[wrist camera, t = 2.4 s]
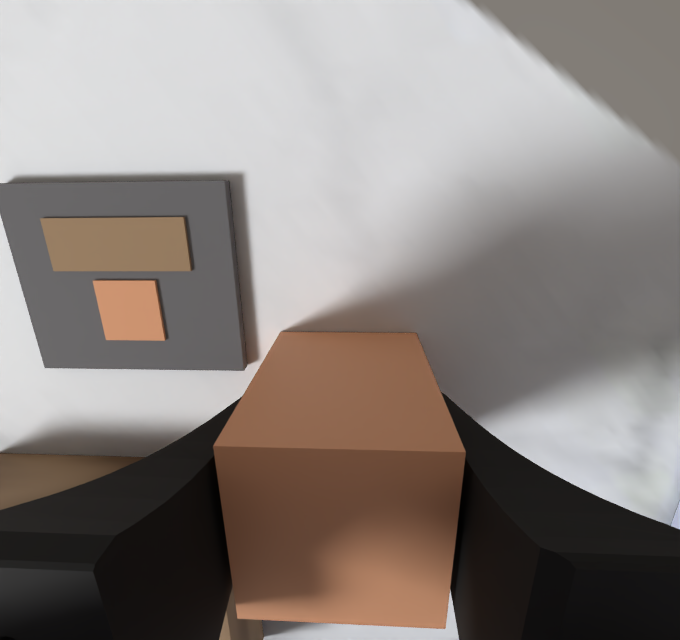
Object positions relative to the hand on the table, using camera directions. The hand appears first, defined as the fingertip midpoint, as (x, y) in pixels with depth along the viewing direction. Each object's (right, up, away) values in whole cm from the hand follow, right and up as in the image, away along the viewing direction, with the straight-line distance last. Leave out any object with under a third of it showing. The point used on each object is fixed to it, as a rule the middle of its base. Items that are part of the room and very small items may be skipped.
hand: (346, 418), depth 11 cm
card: (-7, +4, +1) cm, 8 cm away
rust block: (0, 0, +2) cm, 2 cm away
